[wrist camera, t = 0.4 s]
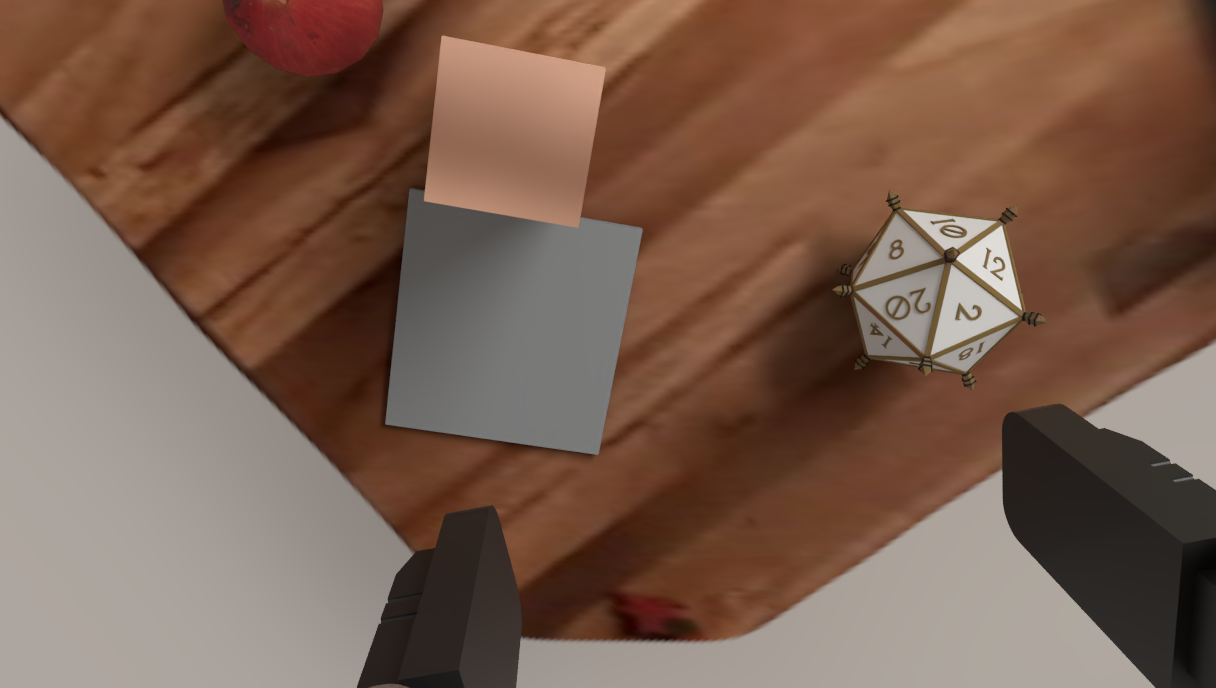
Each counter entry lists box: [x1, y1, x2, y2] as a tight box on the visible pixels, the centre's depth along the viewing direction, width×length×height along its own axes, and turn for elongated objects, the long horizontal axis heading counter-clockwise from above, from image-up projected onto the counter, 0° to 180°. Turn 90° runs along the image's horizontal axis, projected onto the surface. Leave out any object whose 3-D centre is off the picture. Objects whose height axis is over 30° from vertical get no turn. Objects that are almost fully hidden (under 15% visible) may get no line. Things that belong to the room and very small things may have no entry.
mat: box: [385, 188, 643, 455], centre depth 38 cm, size 12×11×1 cm
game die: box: [833, 190, 1047, 391], centre depth 35 cm, size 9×8×10 cm
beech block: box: [424, 36, 606, 228], centre depth 30 cm, size 5×5×12 cm
